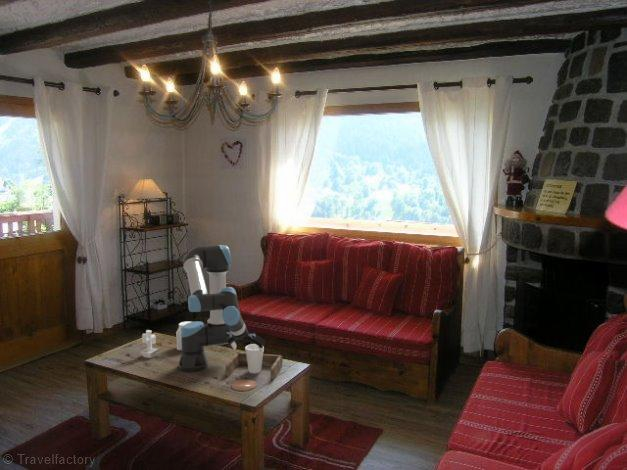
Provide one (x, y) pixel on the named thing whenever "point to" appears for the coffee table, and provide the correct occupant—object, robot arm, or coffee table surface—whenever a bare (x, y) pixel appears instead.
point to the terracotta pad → (243, 385)
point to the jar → (178, 334)
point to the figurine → (149, 344)
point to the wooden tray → (266, 361)
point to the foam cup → (254, 358)
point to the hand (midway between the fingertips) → (248, 348)
